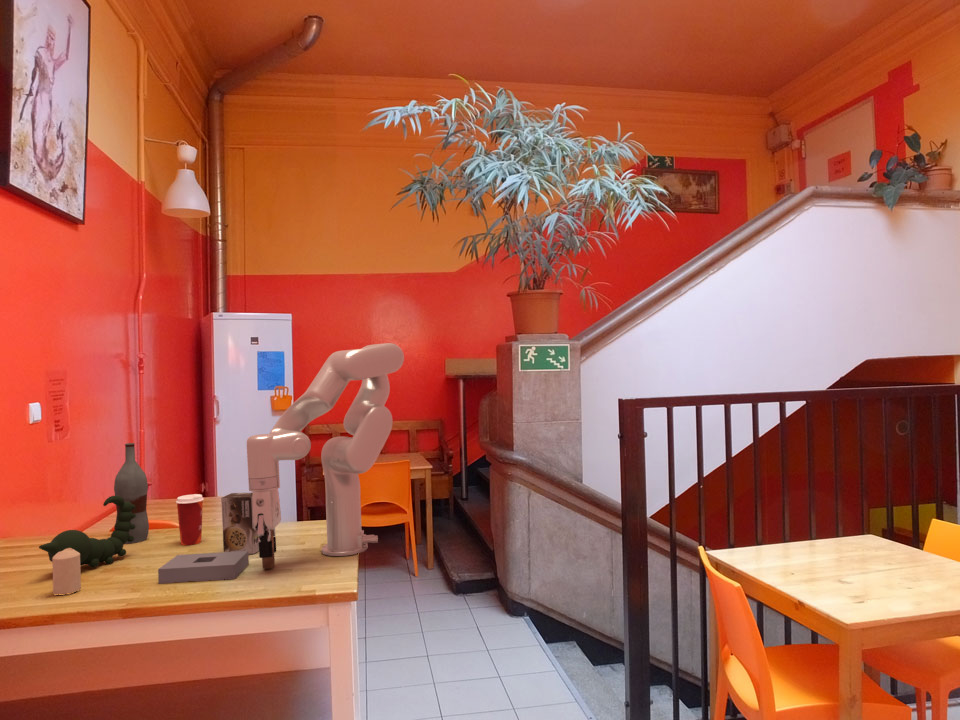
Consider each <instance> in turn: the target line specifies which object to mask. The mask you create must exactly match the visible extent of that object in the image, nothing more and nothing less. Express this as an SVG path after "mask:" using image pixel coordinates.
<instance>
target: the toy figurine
mask: <svg viewBox="0 0 960 720" xmlns="http://www.w3.org/2000/svg"><path fill="white" fill-rule="evenodd" d="M109 504H114V505H115V506H116V505H117V506H119V512H118V514H117V513H116V517H117V520H118V521H117V522H116V521H115V523H114V527H113V529H114V530H112V532H111V534H110V536H109V537H107V538H101V539H98V538H96V537H89V536H88V535H87V534H86V532H83V531H81V530H79V529H69V530H64V531H62V532H60V533H58V534H57V535H55V536H54V537H53V539H51V541H50V542H48V543H44V544H41V545H39V546H38V549H40V550H43V551H44V552H46V553H47V554H48V555H47V556H48V558H49V559H48V560H49V561H50V562H52V558H53V557H54V556H55V555H56V554H57V553H58V552H61V551H63V550H64V549H67V548H72V549H74V550H75V551H77V552H79V553H80V567H82V566H85V565H86V566H88V567H90V568H92V569H94V568H97V567H98V566H99V564H100V563H105V564H107V565H111V564H112V563H114V556H116V555H117V556H118V557H124V556H126V553H127V550H126V549H125V548H124V545H126V544H125V543H126V542H127V541H128V542H132V541H133V540H134V537H133V536H130V534H129V531H130V529H135V525H134V524H131V522H130V521H131V519H133V518H135V517H136V515H135V514H134V513H132V512H131V511H132V509H134V508H135V505H132V503H130V502H128V501H125V502H124V499H123V497H121V496H118V495H115V494H114V495H111V496H108V498H106V499H105V500H104V501H103V504H102V505H103V507H106V506H107V505H109Z"/></svg>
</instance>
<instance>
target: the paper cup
mask: <svg viewBox="0 0 960 720" xmlns="http://www.w3.org/2000/svg"><path fill="white" fill-rule="evenodd" d="M204 500H205V498H204V497H203V494H200V493H199V494H198V493H194V494H186V495H181V496H178V497H177V498H176V501H175V503H176V506H177V519H178V527H179V538H180V545H181V546H187V547H188V546H193V545H194V544H195V545H199V544H200V543H202V532H203V531H202V530H203V506H204V503H203V502H204ZM195 545H194V546H195Z"/></svg>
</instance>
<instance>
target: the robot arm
mask: <svg viewBox="0 0 960 720" xmlns="http://www.w3.org/2000/svg"><path fill="white" fill-rule="evenodd" d="M404 361H405V354H404V351H403V349H402V348H401V347H400V346H399V345H397V344H395V343H392V342H388V343H378V344H377V343H375V344H368V345H365V346H363V347H362V348H357V349H345V350H338V351H337V350H336V351H335V352H332V353H331V354H330V355H329V356H328V357H327V359H326V360H325V362H324V363H323V365H322V367H320V370H319V371H318V373H316V376H315V377H314V379H313V380H312V382H311V383H310V384H309V386H308V387H307V389H306V391H305V392H304V393H303V394H301V396H299V398H297V399H296V400H295V401H294V402H293V403H292V404H291V405H290V406H289V407H287V409H285V411H284V412H283V413H282V414H281V415H280V417H279V418H278V419H277V421H276V422H275V424H274V425H273V427H272V429H271V430H270V432H269V433H264V434H255V435H250V436H249V437H248V438H247V439H246V457H247V458H246V459H247V474H248V475H247V476H248V479H247V480H248V491H249V492H251V493H253V498H252V510H253V527H254V530H256V531H258V533H257V535H258V541H259V551H258V557H259V558H261V559H262V558H266V557H272V556H273V549H272V541H271V533H270V529H271V530H273V539H274V554H276V552H277V538H276V528H277V526H278V525H279V524H280V523H281V521H282V513H281V503H280V493H279V489H280V488H281V482H280V481H281V480H280V463H279V461H298V460H301V459H303V458H304V457H306V456H307V455H308V454H309V452H310V451H311V446H312V442H311V440H310V438H309V436H308V435H306V434H305V433H304V432H303V430H304V429H305V428H306V427H307V426H308V424H309V423H311V422H312V421H314V420H315V419H317V418H319V417H322V416H323V415H325V414H327V413H328V412H329V411H331V410H332V409H333V408H334V406H335V405H336V403H337V402H338V400H339V399H340V397H341V395H342V393H343V392H344V391H345V389H346V387H347V386H348V384H349V383H350V382H351V381H360V380H361V384H360V387H359V390H358V392H357V394H356V396H355V397H354V399H353V401H352V403H351V404H350V405H349V408H348V410H347V412H346V413H345V416H344V419H343V428H344V430H345V432H347V433H348V434H349V435H352V437H349V436H342V435H341V436H335V437H332V438H330V439H328V440H327V441H326V442H325V443H324V444H323V446H322V449H321V455H320V457H321V466H322V470H323V476H324V483H325V484H324V485H325V514H326V515H325V517H326V544H324V545H323V546H322V547H321V554H323V555H325V556H328V557H329V556H330V557H345V556H347V557H348V556H353V555H357V553H358V554H361V553H364V552H365V551H366V550H367V549H369V546H368V544H369V543H371V544H376V543H379V536H378V535H375V534H366V533H365V530H364V529H362V505H361V503H362V501H361V482H360V477H359V475H360V474H365V473H366V472H368V471H369V470H370V469H371V468H372V467H373V466H374V464H375V463H376V461H377V459H378V457H379V455H380V454H381V451H382V450H383V448H384V446H385V444H386V442H387V440H388V438H389V436H390V434H391V432H392V429H393V422H394V421H393V415H392V412H391V411H390V409H389V408H388V407H387V406H385V405H386V402H387V400H388V398H389V396H390V390H391V387H390V386H391V385H390V379H389V377H388V375H389V374H392V373H396V372H397V371H399V370H400V369H401V368H402V366H403V364H404ZM264 527H267V528H268V529H264ZM265 532H267V533H265Z"/></svg>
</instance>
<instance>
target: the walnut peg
mask: <svg viewBox="0 0 960 720" xmlns="http://www.w3.org/2000/svg"><path fill="white" fill-rule="evenodd" d="M264 529H268V528H267V527H264ZM265 533H267V532H265ZM270 533H271V541H272V549H273V556H272V557H266V558H261V563H262V569H263V570H269V569H274V568H275V567H276V562H275V553H274V539H273V537H274V536H273V530H271V529H270Z"/></svg>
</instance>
